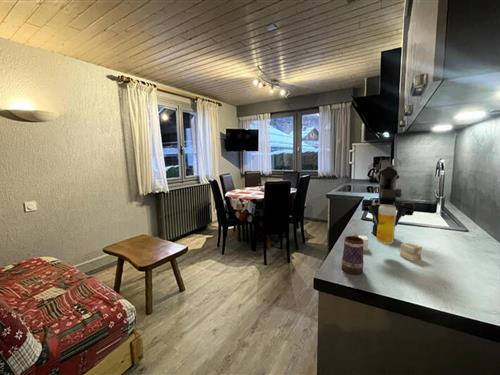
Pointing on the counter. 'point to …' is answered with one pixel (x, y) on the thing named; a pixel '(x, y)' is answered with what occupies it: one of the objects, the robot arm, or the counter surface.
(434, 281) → the counter surface
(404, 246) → the birch block
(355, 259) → the mug
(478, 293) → the counter surface
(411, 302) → the counter surface
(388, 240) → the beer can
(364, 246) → the cream plastic block
